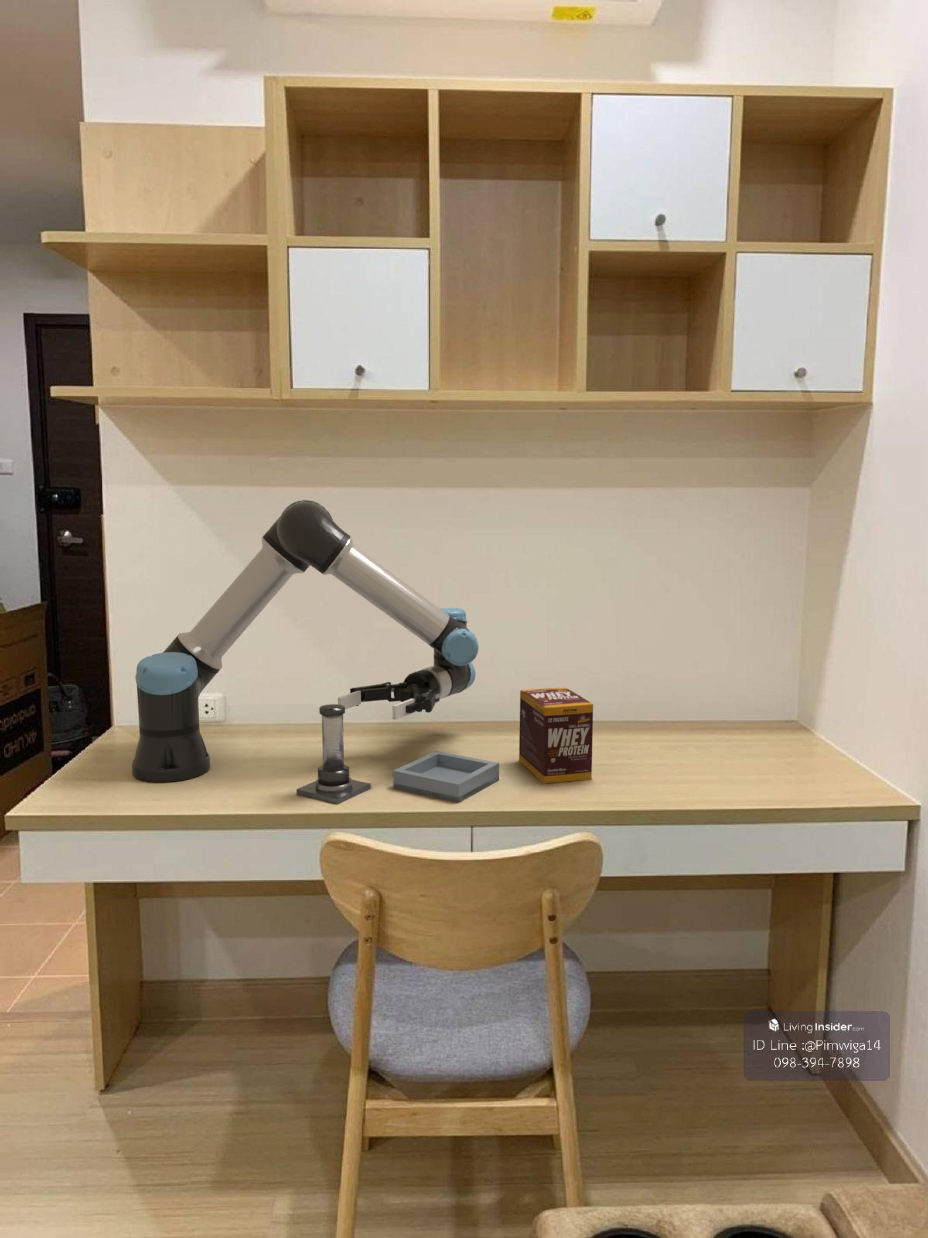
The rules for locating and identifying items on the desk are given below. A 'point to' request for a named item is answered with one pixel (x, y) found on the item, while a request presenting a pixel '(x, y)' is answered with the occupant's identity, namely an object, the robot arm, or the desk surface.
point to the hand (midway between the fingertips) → (366, 708)
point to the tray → (446, 776)
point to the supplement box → (556, 734)
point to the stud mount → (333, 791)
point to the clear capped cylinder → (333, 747)
